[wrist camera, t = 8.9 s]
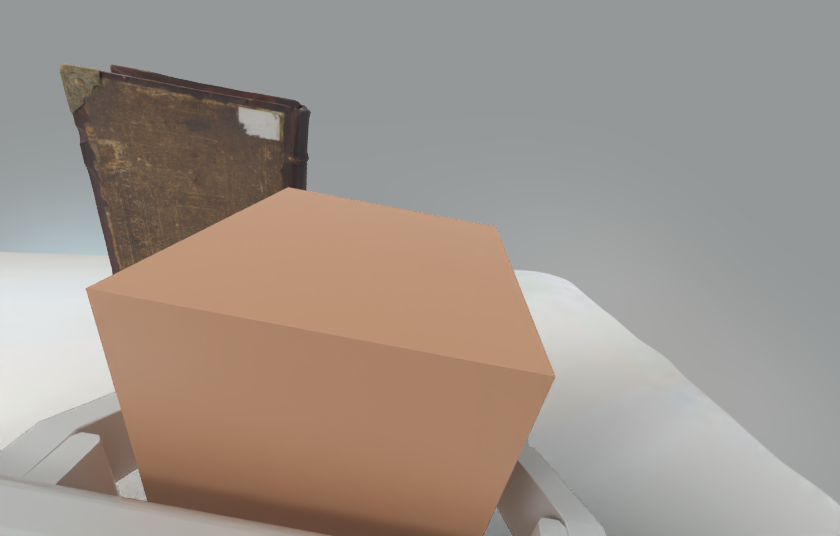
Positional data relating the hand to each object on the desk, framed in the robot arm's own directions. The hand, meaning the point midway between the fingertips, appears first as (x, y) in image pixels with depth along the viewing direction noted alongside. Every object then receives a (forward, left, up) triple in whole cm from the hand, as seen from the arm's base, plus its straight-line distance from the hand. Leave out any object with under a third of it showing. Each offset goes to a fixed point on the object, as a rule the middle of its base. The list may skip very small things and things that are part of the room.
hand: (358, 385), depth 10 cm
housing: (0, -1, -6) cm, 6 cm away
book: (-19, +22, -19) cm, 35 cm away
